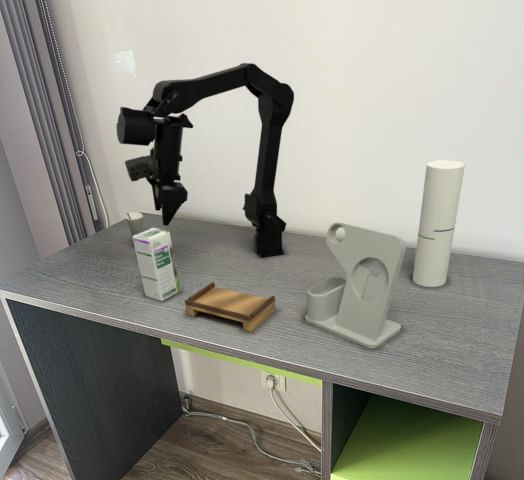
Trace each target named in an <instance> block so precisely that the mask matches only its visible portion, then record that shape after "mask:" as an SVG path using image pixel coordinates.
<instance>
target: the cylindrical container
mask: <svg viewBox="0 0 524 480" xmlns="http://www.w3.org/2000/svg"><path fill="white" fill-rule="evenodd" d="M465 168H466V164H465V163H464V162H463V161H458V160H452V159H451V160H450V159H439V160H432V161H427V162H426V166H425V175H424V183H423V192H422V201H421V208H420V215H419V225H418V233H417V239H416V240H417V241H416V248H415V257H414V265H413V272H412V274H413V275H412V281H413V282H414V283H415V284H416V285H418V286H422V287H427V288H437V287H442V286H443V285H445V284H446V282H447V276H448V271H449V264H450V258H451V254H452V253H451V252H452V246H453V240H454V233H455V228H456V222H457V216H458V209H459V205H460V204H459V203H460V198H461V192H462V184H463V180H464V173H465V172H464V171H465Z"/></svg>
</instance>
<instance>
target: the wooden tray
mask: <svg viewBox="0 0 524 480" xmlns="http://www.w3.org/2000/svg"><path fill="white" fill-rule="evenodd" d="M184 305H185V312H186V316H188V317H192V318H194V317H196V316H197V315H199V314H200V313H207V314H210V315H214V316H217V317H221V318H225V319H228V320H233V321H236V322H241V323H242V329H243V332H246V333H253V332H254V331H255V330H256V329H257V328H258V327H260V326H261V325H262V324H263V323H264V322H265V321H267V320H268V319H269V318H270V317H271V316H272V315H273V314H275V313H276V311H277V310H276V309H277V308H276V296H275V295H271V296H270V297H269V298H265V297H260V296H256V295H252V294H247V293H244V292H238V291H235V290H230V289H226V288H222V287H216V284H215V282H210V283H208V284H207V285H206V286H204V287H203V288H201V289H200V290H198V291H196V292H194V293H193V294H192V295H190V296H189V297H188V298H187V299H185V300H184Z"/></svg>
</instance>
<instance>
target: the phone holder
mask: <svg viewBox="0 0 524 480" xmlns="http://www.w3.org/2000/svg"><path fill="white" fill-rule="evenodd" d="M341 228H342V229H343V230H344V237H343V239H342V240H341V241H338V240H337V238H336V233H337V231H338V230H339V229H341ZM325 243H326V245H327V246H328V248H329V250H330V251H331V252H332V254H333V256H334V257H335V259H336V260H337V261H338V263H339V265H340V266H341V268H342V269H343V270H344V273H345V274H346V279H345V278H344V277H340V276H331V277H328V278H326V279H324V280H323V281H320V282H319V283H317V284H315V285H313V286H311V287H309V288H308V289H307V290H306V291H307V292H306V314H305V315H304V321H305V322H307V323H308V324H310V325H313V326H316V327H318V328H320V329H322V330H325V331H327V332H329V333H331V334H334V335H337V336H339V337H341V338H343V339H346V340H348V341H350V342H353V343H355V344H357V345H359V346H362V347H365V348H366V349H376V348H378V347H380V346H381V345H383V344H384V343H385V342H387V341H388V340H390V339H391V338H393V337H394V336H395V335H397V334H399V333H400V331H401V329H402V325H401V324H400V323H398V322H396V321H393V320H390V319H388V318H387V316H388V313H389V309H390V305H391V303H392V299H393V296H394V292H395V289H396V285H397V282H398V278H399V275H400V272H401V269H402V264H403V261H404V258H405V255H406V250H407V247H406V246H407V245H406V242H405V240H404V239H403V238H401V237H400V236H396V235H393V234H389V233H384V232H380V231H377V230H373V229H370V228H369V229H368V228H364V227H360V226H356V225H353V224H347V223H343V222H333V223H332V224H331V225H330V226H329V227H328V229H327V231H326V236H325ZM374 262H378V263H380V266H381V272H380V273H379V275H377V276H375V275H372V273H371V271H370V267H371V265H372V263H374Z"/></svg>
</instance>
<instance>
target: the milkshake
mask: <svg viewBox="0 0 524 480" xmlns="http://www.w3.org/2000/svg"><path fill="white" fill-rule="evenodd" d="M125 219H126V222H127V225H128V229H129V231H130V236H131V238H132V242H133V243H134V241H133V236H134V235H137V234H139V233H142V232H144V231H145V225H144V215H143V214H142V213H141V212H140V211H131V212H127V213H126V215H125Z"/></svg>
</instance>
